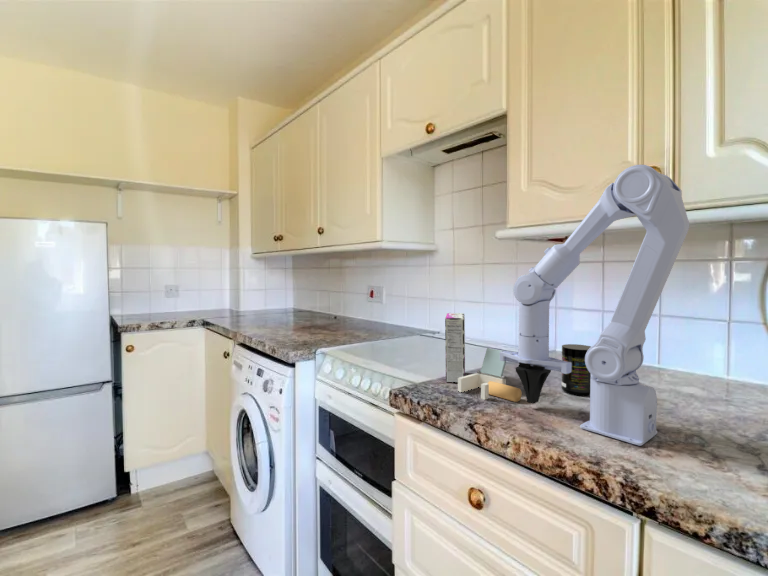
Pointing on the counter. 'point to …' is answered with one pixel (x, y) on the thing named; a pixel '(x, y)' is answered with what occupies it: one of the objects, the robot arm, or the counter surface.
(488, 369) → the cover flap
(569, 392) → the supplement container
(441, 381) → the counter surface
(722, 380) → the counter surface
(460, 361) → the candy bar box
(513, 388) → the tan cylinder roller
